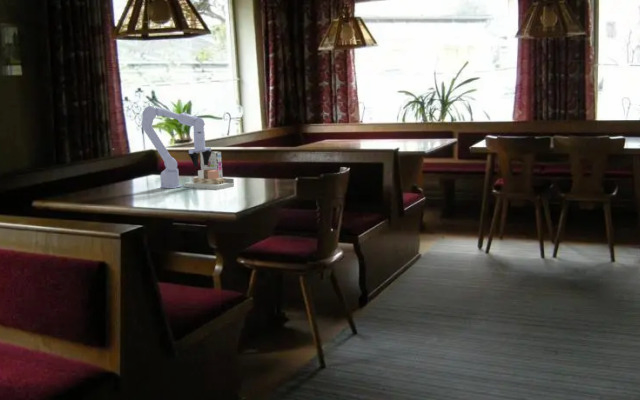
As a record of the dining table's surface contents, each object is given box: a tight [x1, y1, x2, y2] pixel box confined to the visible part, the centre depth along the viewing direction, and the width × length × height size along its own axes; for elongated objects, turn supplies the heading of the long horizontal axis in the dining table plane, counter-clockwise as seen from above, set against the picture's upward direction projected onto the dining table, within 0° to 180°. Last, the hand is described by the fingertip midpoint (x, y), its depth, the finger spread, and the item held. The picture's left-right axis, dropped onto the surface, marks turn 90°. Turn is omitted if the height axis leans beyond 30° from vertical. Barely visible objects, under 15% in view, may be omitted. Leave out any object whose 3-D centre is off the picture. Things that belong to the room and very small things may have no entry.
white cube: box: [197, 169, 204, 178], centre depth 363 cm, size 4×4×4 cm
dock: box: [184, 177, 235, 190], centre depth 362 cm, size 24×12×4 cm, turn 55°
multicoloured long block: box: [192, 169, 226, 184], centre depth 361 cm, size 18×5×7 cm, turn 55°
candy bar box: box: [199, 151, 224, 178], centre depth 381 cm, size 11×5×16 cm, turn 68°
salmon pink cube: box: [208, 170, 219, 179], centre depth 359 cm, size 4×4×4 cm
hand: (201, 165), depth 366 cm, fingers open, 7 cm apart
